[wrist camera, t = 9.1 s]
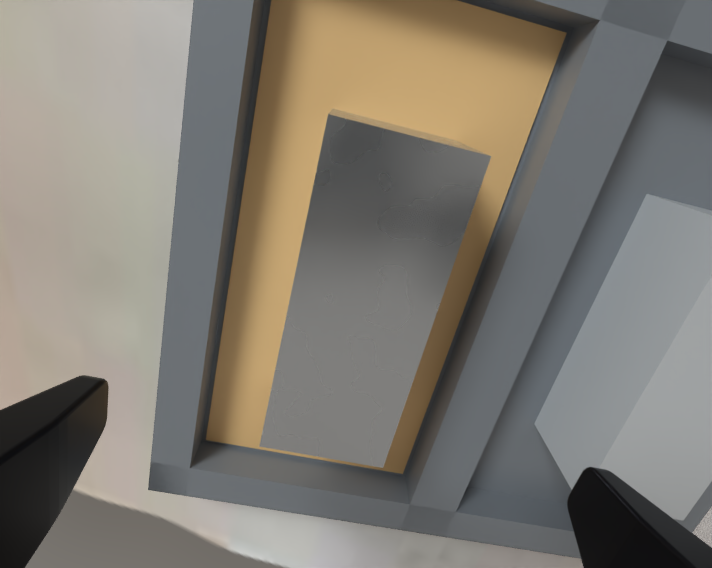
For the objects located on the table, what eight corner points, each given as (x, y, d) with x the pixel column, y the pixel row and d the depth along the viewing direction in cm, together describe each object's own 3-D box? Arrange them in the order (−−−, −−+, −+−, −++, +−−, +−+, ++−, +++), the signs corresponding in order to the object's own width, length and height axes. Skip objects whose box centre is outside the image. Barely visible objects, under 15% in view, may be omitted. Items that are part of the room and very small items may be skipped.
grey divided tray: (921, 84, 15) (1171, 80, 11) (631, 523, 23) (702, 631, 18) (234, -130, 13) (171, -257, 8) (170, 445, 21) (119, 547, 16)
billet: (454, 140, 15) (491, 155, 11) (375, 392, 18) (383, 467, 15) (332, 108, 14) (328, 114, 10) (277, 373, 18) (259, 446, 14)
